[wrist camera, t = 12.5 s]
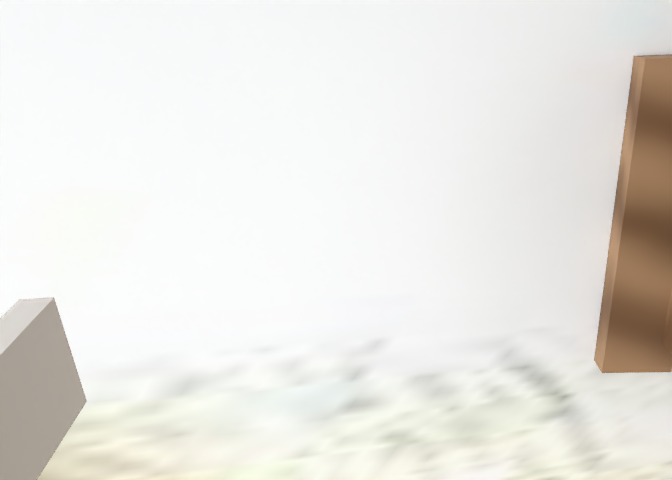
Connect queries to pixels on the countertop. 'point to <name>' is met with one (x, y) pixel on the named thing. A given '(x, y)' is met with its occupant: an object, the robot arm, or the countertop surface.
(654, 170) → the wooden peg board
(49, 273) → the countertop surface
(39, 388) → the robot arm
